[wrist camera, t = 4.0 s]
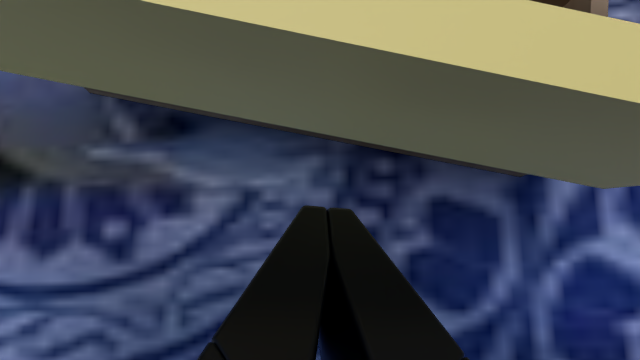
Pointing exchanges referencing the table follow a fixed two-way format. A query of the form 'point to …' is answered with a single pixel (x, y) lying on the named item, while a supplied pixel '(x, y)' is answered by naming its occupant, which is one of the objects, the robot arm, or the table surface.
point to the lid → (365, 72)
